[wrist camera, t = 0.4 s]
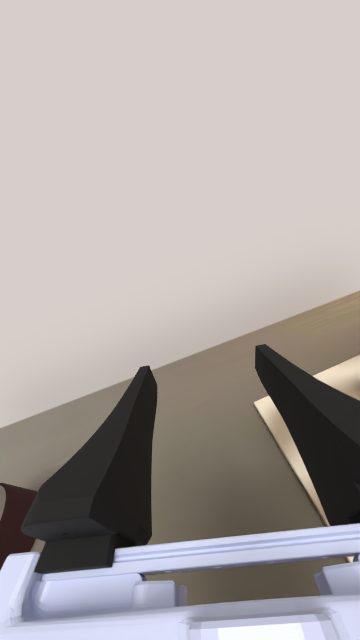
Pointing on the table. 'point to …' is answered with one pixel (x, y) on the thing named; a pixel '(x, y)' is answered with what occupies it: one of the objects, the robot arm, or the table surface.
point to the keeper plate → (347, 377)
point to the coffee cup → (15, 522)
